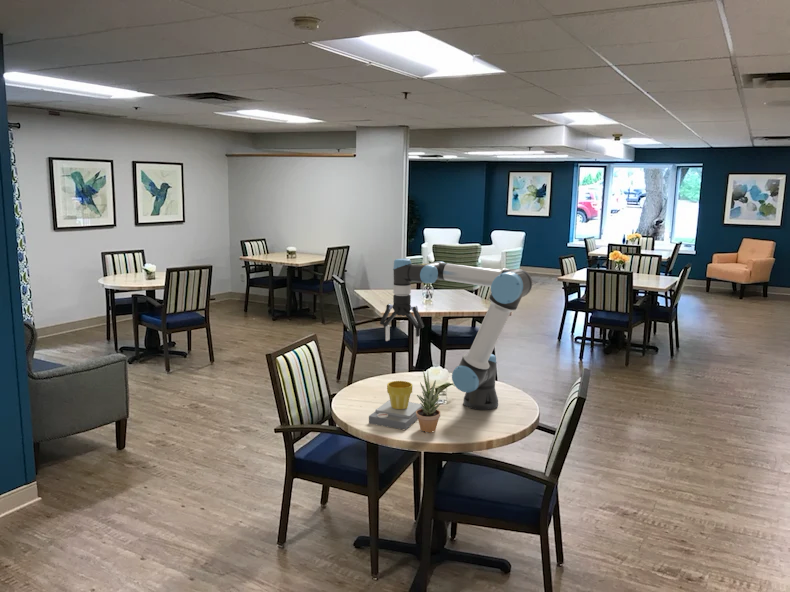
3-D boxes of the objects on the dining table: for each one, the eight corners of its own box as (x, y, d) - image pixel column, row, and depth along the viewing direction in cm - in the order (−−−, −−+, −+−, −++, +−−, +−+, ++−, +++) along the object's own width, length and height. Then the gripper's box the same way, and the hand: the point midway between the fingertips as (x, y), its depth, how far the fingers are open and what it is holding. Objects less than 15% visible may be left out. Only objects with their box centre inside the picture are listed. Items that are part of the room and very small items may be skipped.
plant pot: (388, 401, 267) (389, 379, 266) (413, 403, 266) (413, 381, 264) (385, 410, 257) (385, 387, 256) (410, 412, 256) (410, 389, 254)
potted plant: (414, 425, 253) (416, 365, 249) (438, 425, 254) (440, 365, 249) (417, 435, 243) (418, 373, 239) (441, 434, 244) (443, 373, 239)
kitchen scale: (424, 413, 266) (424, 404, 265) (405, 430, 248) (405, 420, 247) (389, 407, 272) (389, 398, 272) (368, 423, 254) (368, 413, 254)
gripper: (431, 295, 273) (431, 343, 277) (379, 291, 283) (379, 337, 287) (425, 297, 267) (424, 346, 270) (372, 293, 277) (372, 340, 280)
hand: (401, 342), depth 279 cm, fingers open, 13 cm apart
